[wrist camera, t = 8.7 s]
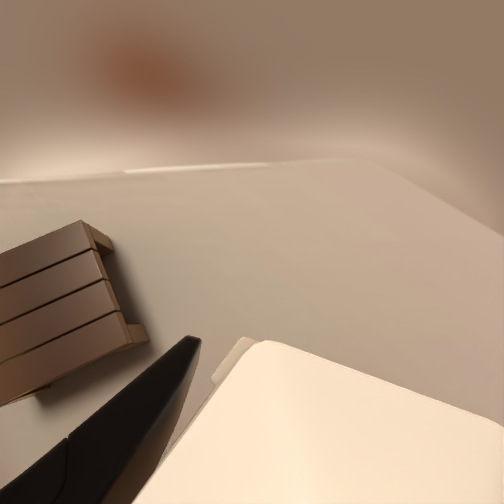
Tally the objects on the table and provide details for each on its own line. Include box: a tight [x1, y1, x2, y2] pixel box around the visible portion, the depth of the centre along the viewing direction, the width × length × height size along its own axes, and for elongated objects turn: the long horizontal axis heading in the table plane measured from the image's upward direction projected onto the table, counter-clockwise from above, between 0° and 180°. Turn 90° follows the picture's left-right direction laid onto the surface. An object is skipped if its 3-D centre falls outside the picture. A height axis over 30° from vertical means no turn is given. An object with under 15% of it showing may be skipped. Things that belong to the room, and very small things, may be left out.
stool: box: [0, 220, 149, 407], centre depth 19 cm, size 8×8×4 cm
